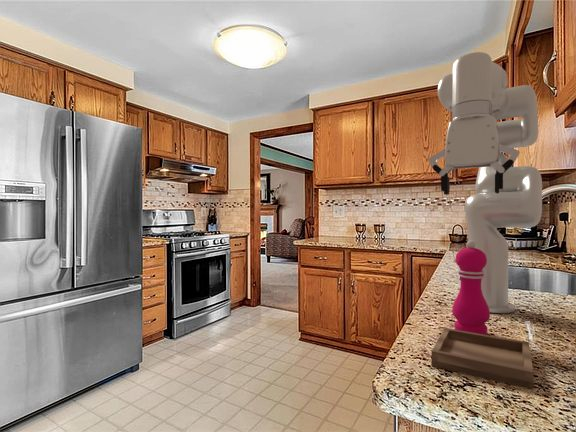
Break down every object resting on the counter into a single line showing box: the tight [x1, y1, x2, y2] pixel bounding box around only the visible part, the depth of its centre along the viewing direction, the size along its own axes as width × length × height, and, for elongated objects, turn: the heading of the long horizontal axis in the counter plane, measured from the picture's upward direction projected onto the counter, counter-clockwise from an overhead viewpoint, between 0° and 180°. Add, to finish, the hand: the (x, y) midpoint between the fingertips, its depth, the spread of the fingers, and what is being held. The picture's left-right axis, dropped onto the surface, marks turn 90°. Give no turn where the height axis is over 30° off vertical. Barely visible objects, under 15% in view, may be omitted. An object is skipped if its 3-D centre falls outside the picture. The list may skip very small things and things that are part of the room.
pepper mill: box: [451, 241, 491, 335], centre depth 74 cm, size 7×7×20 cm
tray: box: [430, 327, 534, 390], centre depth 59 cm, size 14×14×2 cm
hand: (470, 193), depth 73 cm, fingers open, 9 cm apart
